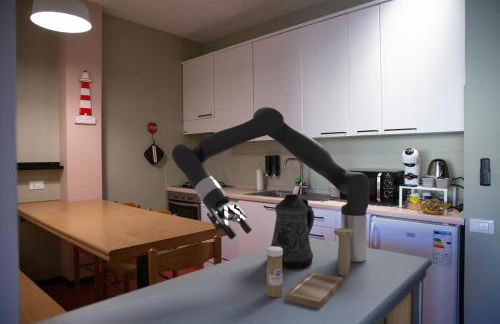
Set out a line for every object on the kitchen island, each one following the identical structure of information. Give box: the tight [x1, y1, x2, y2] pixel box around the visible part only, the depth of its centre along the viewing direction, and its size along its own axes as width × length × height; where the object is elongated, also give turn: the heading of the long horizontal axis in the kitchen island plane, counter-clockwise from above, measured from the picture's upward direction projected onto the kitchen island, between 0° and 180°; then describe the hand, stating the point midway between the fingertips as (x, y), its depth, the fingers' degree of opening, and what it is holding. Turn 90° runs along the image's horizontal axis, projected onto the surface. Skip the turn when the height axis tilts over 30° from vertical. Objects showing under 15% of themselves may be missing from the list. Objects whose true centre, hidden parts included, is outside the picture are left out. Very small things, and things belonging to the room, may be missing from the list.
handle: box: [333, 227, 354, 277], centre depth 112 cm, size 5×6×15 cm
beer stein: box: [270, 194, 315, 270], centre depth 127 cm, size 16×19×25 cm
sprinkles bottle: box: [266, 246, 283, 298], centre depth 96 cm, size 5×5×14 cm
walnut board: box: [284, 271, 344, 310], centre depth 99 cm, size 20×10×2 cm, turn 148°
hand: (242, 234), depth 101 cm, fingers open, 8 cm apart
